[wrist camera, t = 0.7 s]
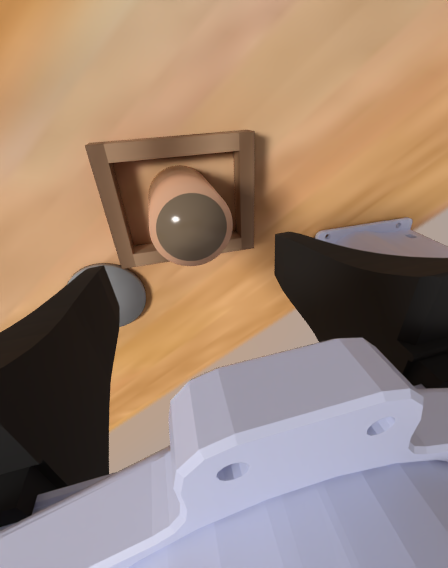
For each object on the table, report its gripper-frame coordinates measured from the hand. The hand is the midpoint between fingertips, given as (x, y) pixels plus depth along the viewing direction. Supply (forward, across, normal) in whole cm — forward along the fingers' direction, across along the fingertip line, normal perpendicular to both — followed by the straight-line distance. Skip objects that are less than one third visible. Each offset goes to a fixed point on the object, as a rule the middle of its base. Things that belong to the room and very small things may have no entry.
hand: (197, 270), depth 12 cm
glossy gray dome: (+10, +7, +6) cm, 14 cm away
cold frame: (+10, 0, 0) cm, 10 cm away
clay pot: (+10, 0, 0) cm, 10 cm away
